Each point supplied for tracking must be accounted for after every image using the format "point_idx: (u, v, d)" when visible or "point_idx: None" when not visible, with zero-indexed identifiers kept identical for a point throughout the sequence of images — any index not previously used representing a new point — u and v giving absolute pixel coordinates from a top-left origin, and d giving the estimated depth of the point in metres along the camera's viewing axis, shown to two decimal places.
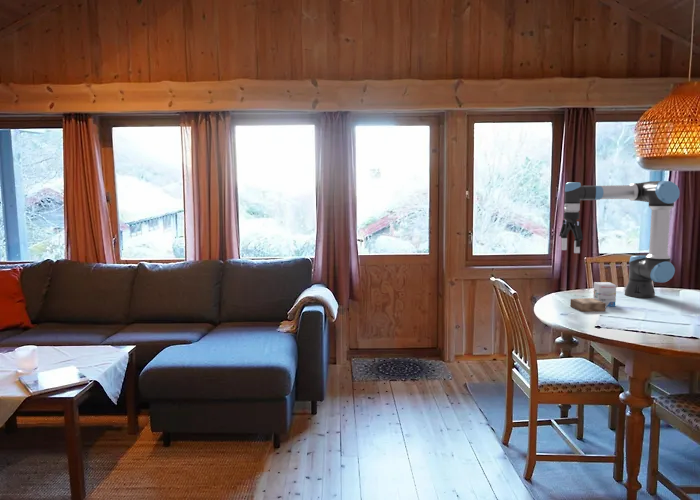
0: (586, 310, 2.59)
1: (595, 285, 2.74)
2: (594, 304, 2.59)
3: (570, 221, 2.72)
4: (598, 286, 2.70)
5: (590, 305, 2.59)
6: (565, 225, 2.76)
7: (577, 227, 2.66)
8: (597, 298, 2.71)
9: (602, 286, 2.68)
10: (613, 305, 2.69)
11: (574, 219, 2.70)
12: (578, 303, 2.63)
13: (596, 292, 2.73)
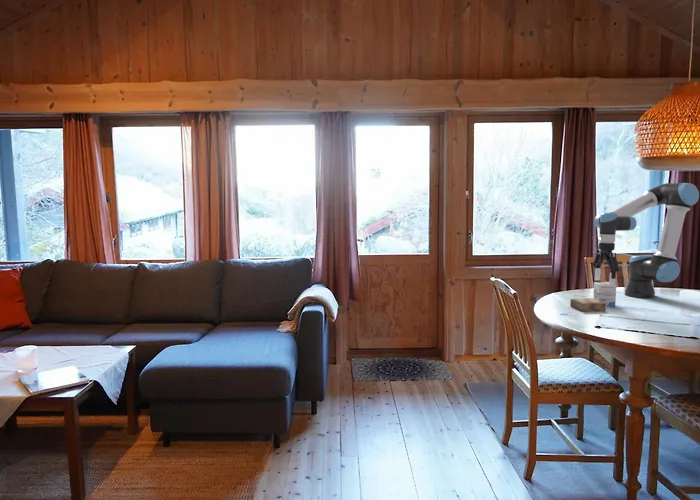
0: (586, 310, 2.59)
1: (595, 285, 2.74)
2: (594, 304, 2.59)
3: (605, 252, 2.69)
4: (598, 286, 2.70)
5: (590, 305, 2.59)
6: (599, 255, 2.73)
7: (613, 259, 2.63)
8: (597, 298, 2.71)
9: (602, 286, 2.68)
10: (613, 305, 2.69)
11: (609, 250, 2.66)
12: (578, 303, 2.63)
13: (596, 292, 2.73)
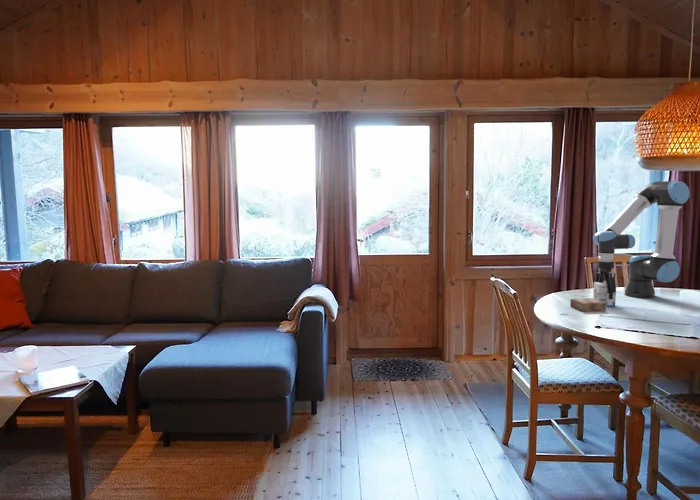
0: (586, 310, 2.59)
1: (595, 285, 2.74)
2: (594, 304, 2.59)
3: (605, 270, 2.70)
4: (598, 286, 2.70)
5: (590, 305, 2.59)
6: (599, 274, 2.74)
7: (611, 279, 2.65)
8: (597, 298, 2.71)
9: (602, 286, 2.68)
10: (613, 305, 2.69)
11: (609, 269, 2.67)
12: (578, 303, 2.63)
13: (596, 292, 2.73)
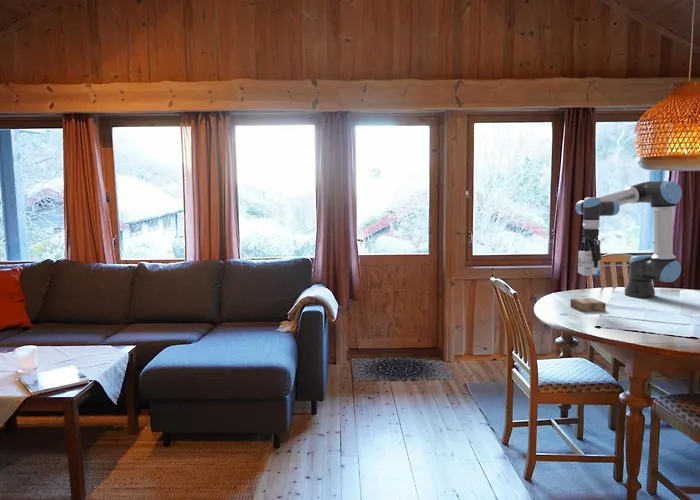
0: (586, 310, 2.59)
1: (580, 254, 2.64)
2: (594, 304, 2.59)
3: (589, 237, 2.60)
4: (582, 254, 2.60)
5: (590, 305, 2.59)
6: (584, 243, 2.64)
7: (596, 247, 2.55)
8: (581, 267, 2.61)
9: (586, 254, 2.58)
10: (598, 274, 2.59)
11: (593, 236, 2.57)
12: (578, 303, 2.63)
13: (580, 261, 2.63)
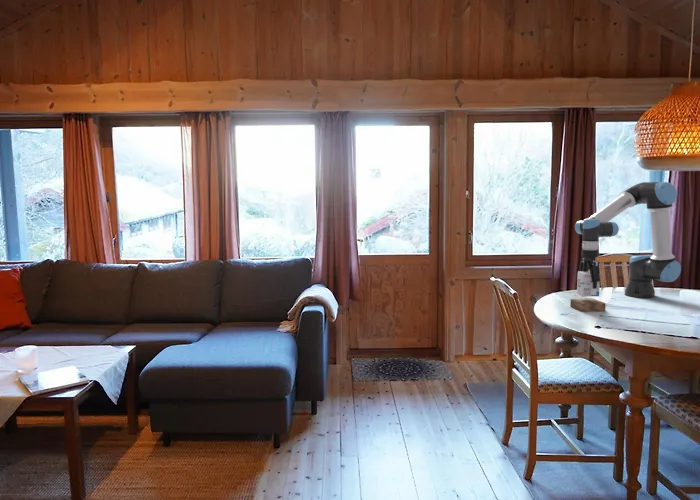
0: (586, 310, 2.59)
1: (579, 274, 2.65)
2: (594, 304, 2.59)
3: (588, 258, 2.61)
4: (582, 275, 2.61)
5: (590, 305, 2.59)
6: (583, 263, 2.65)
7: (595, 268, 2.56)
8: (581, 288, 2.63)
9: (585, 275, 2.59)
10: (597, 295, 2.60)
11: (593, 257, 2.59)
12: (578, 303, 2.63)
13: (579, 282, 2.64)
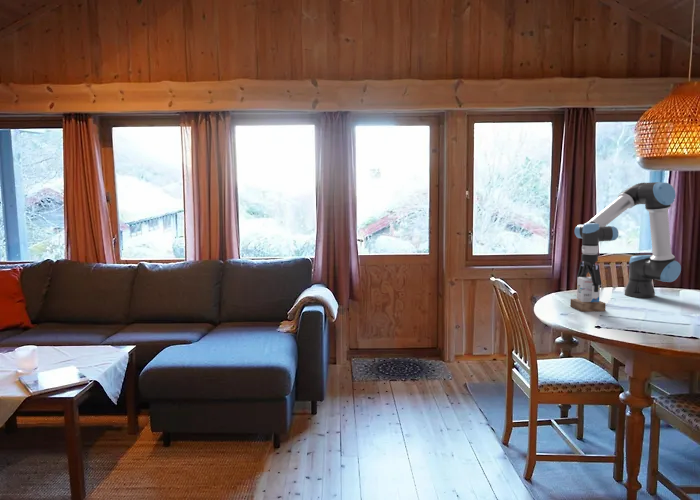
0: (586, 310, 2.59)
1: (579, 280, 2.65)
2: (594, 304, 2.59)
3: (588, 263, 2.61)
4: (582, 281, 2.61)
5: (590, 305, 2.59)
6: (583, 267, 2.66)
7: (596, 271, 2.56)
8: (581, 293, 2.63)
9: (586, 280, 2.60)
10: (597, 300, 2.60)
11: (592, 262, 2.59)
12: (578, 303, 2.63)
13: (579, 287, 2.65)
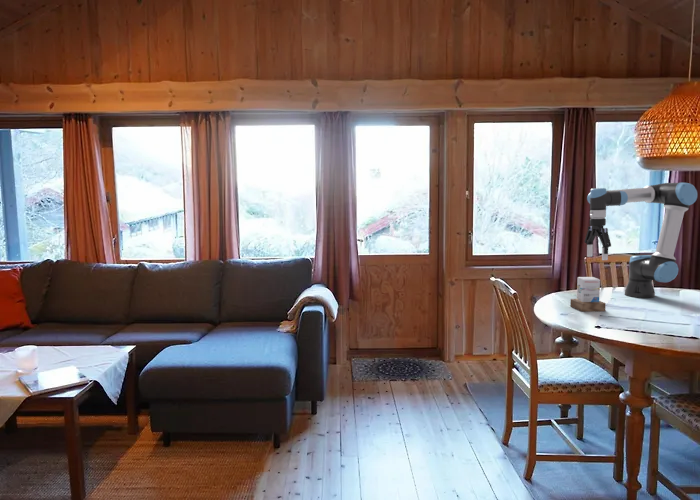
0: (586, 310, 2.59)
1: (579, 280, 2.65)
2: (594, 304, 2.59)
3: (596, 228, 2.69)
4: (582, 281, 2.61)
5: (590, 305, 2.59)
6: (591, 232, 2.73)
7: (605, 234, 2.63)
8: (581, 293, 2.63)
9: (585, 280, 2.60)
10: (597, 300, 2.60)
11: (601, 226, 2.66)
12: (578, 303, 2.63)
13: (579, 287, 2.65)
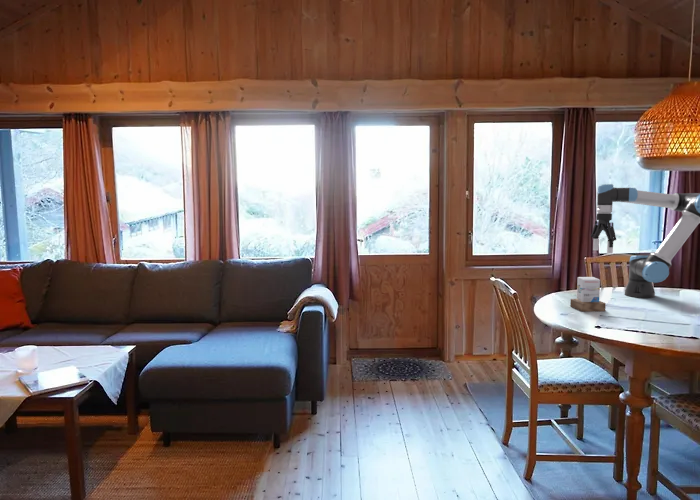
0: (586, 310, 2.59)
1: (579, 280, 2.65)
2: (594, 304, 2.59)
3: (603, 222, 2.79)
4: (582, 281, 2.61)
5: (590, 305, 2.59)
6: (597, 226, 2.83)
7: (610, 228, 2.73)
8: (581, 293, 2.63)
9: (586, 280, 2.60)
10: (597, 300, 2.60)
11: (607, 220, 2.77)
12: (578, 303, 2.63)
13: (579, 287, 2.65)
